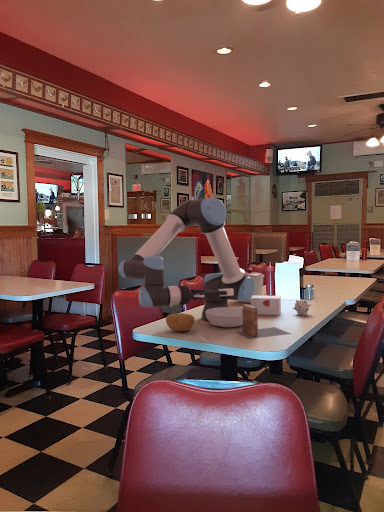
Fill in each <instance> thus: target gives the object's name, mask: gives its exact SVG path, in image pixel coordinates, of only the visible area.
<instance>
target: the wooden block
mask: <svg viewBox="0 0 384 512" xmlns="http://www.w3.org/2000/svg"><path fill="white" fill-rule="evenodd" d="M241 308H242V313H243V325H242V331H243V332H244V333H246V334H248V335H250V336H252V337H257V336H258V329H259V326H258V324H259V323H258V322H259V319H258V316H259V315H258V308H257V307H254V306H251V304H249V303H246V304H245V303H243V304H242V306H241Z"/></svg>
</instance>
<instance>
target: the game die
mask: <svg viewBox="0 0 384 512" xmlns="http://www.w3.org/2000/svg"><path fill="white" fill-rule="evenodd" d="M295 301H296V302H295V303H294V307H293V308H292V310H295V311H296V312H297V313H296V314H299V316H302V315H305V314H306V315H308V311H309V310H310V309H309V307H311V304H309V303H308V302H307V300H305V299H304V298H302V299H300V300H298V299H295Z"/></svg>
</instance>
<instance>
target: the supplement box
mask: <svg viewBox="0 0 384 512" xmlns="http://www.w3.org/2000/svg"><path fill="white" fill-rule="evenodd" d="M281 301H282V300H281V295H262V296H260V295H253V296H252V297H251V303H250V305H251V306H254V307H257V308H258V316H260V315H261V316H262V315H264V316H280V315H281V312H282V309H281V308H282V307H281V306H282V305H281V304H282V303H281Z"/></svg>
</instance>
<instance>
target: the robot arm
mask: <svg viewBox="0 0 384 512" xmlns="http://www.w3.org/2000/svg"><path fill="white" fill-rule="evenodd" d="M227 214H228V213H227V208H226V206H225V204H224V202H223V201H222V200H220V199H219V198H216V197H205V198H197V199H188V200H186V201H184V202H182V203H180V204H179V205H178V206H177V207H175V208H174V209H173V210H172V211H171V212H170V213H169V214H168V215H167V217H166V220H165V222H164V223H163V224H162V225H161V226H160V227H158V229H157V230H156V231H155V232H154V234H152V235H151V236H150V238H148V240H146V242H145V243H144V244H143V245H142V246H141V247H140V248H139V249H138V250H137V251H136V252H135V253H134V254H133V256H131V257H130V259H125V260H122V261H121V262H120V263H119V265H118V274H119V275H120V276H121V277H122V278H125V279H128V280H141V281H143V287H140V288H139V290H138V297H137V298H138V303H139V305H140V306H141V307H142V308H156V307H157V308H158V307H166V306H167V307H168V306H170V307H171V308H172V307H173V306H182V305H189V304H190V302H191V300H193V301H198V300H200V301H201V300H204V304H203V308H202V312H201V320H203V321H207V322H209V321H208V319H207V317H206V313H205V311H206V310H208V309H211V308H218V307H230V306H229V303H228V302H229V301H228V300H230V301H235V302H236V301H237V302H238V301H239V302H241V301H247V300H249V299H250V298H251V297H252V295H253V292H254V280H253V279H252V278H251V277H247V276H246V274H245V272H246V271H245V270H244V269H242V268H240V266H239V263H238V259H237V258H236V255H235V252H234V251H233V248H232V246H231V243H230V241H229V238H228V236H227V233H226V230H225V228H224V227H225V225H226V220H227ZM192 226H198V228H199V230H200V233H201V234H203V235H205V237H206V238H207V241H208V243H209V245H210V248H211V251H212V252H213V255H214V258H215V259H216V262H217V264H218V267H219V269H220V271H221V272H216V273H209V274H208V273H207V274H206V275H205V276H204V278H203V279H204V280H203V281H204V282H203V289H201V288H199V289H195V288H190V287H189V286H188V285H178V286H177V285H169V286H168V285H167V286H165V282H164V281H165V280H164V277H165V275H164V273H165V272H164V271H165V266H164V258H163V257H162V256H160V254H161V252H163V250H164V249H165V248H166V247H167V246H168V245H169V244H170V243H171V242H172V240H174V239H175V237H176V236H177V235H178V234H179V233H182V232H184V231H185V230H186V228H188V227H192Z"/></svg>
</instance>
